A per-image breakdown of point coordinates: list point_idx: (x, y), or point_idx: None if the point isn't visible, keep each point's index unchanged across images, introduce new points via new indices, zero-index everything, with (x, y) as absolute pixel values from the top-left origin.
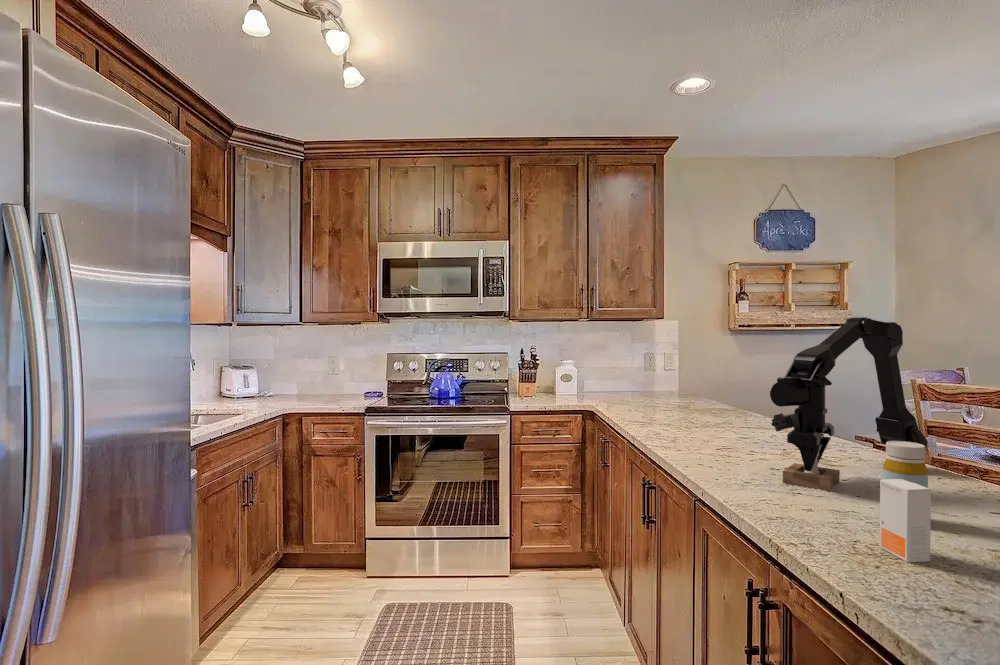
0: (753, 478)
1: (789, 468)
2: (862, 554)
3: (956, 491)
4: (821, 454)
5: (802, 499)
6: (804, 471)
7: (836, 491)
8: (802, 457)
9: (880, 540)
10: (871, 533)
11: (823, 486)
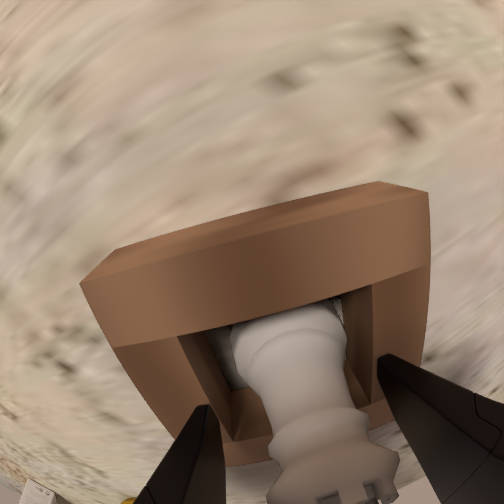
0: (70, 84)
1: (205, 270)
2: (2, 463)
3: None
4: (417, 456)
5: (36, 392)
6: (277, 342)
7: None
8: (146, 486)
9: (25, 485)
10: (50, 479)
11: None
